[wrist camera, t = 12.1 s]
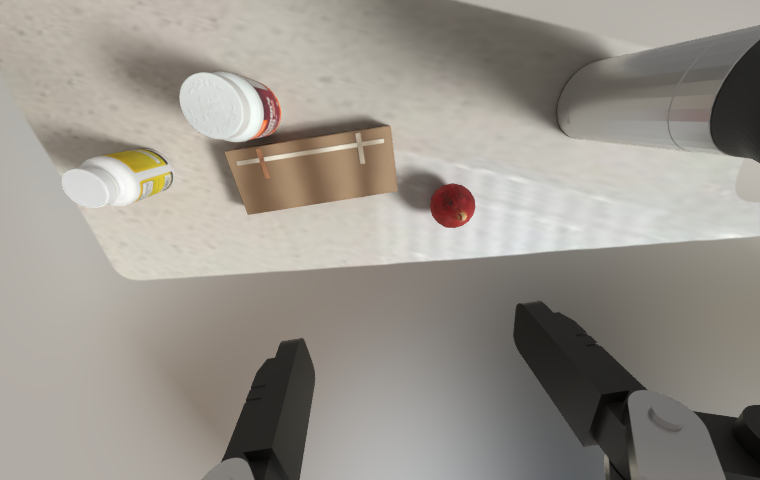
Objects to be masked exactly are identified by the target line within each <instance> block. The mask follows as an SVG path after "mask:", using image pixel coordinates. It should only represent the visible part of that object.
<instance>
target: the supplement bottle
mask: <svg viewBox="0 0 760 480" xmlns="http://www.w3.org/2000/svg"><path fill="white" fill-rule="evenodd" d="M174 180H175V172H174V169H173V166H172V165H171V163H170V162H169V160H168V159H167V158H166V157H165V156H163V155H162V154H160V153H159V152H157V151H154V150H151V149H136V150H130V151H124V152H119V153H113V154H107V155H102V156H96V157H92V158H90V159H87V160H86V161H84V162H83V163H82V165H81V166H80V167H77V168H73V169H69V170H67V171H66V172H65V173H64V174H63V175H62V178H61V184H62V187H63V189H64V191H65V193H66V194H67V195H68V197H69V198H71V199H72V200H73V201H74V202H76V203H77V204H79V205H81V206H84V207H87V208H100V207H103V206H106V205H111V206H125V205H128V204H131V203H134V202H136V201H139V200H141V199H144V198H146V197H149V196H151V195H154V194H156V193H159V192H161V191H164V190H166V189H168V188H169V187H170V186H171V185H172V184H173V183H174Z"/></svg>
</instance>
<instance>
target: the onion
mask: <svg viewBox="0 0 760 480" xmlns="http://www.w3.org/2000/svg"><path fill="white" fill-rule="evenodd" d="M430 208H431V213H432V216H433V217H434V219H435V220H436V221H437V222H438V223H439V224H441V225H443V226H444V227H448V228H456V227H459V226H462V225H464V224H465V223H467V222H468V221H469V220H470V218H471V217H472V216H473V213H474V210H475V200H474V197H473V196H472V194H471V192H470V191H469V190H468V189H467V188H465V187H464V186H462V185H457V184H447V185H443V186H442V187H440V188H439V189H437V190H436V191H435V193H434V195H433V196H432V198H431V205H430Z"/></svg>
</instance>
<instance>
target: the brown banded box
mask: <svg viewBox="0 0 760 480" xmlns="http://www.w3.org/2000/svg"><path fill="white" fill-rule="evenodd" d="M225 155H226V158H227V160H228V163H229V166H230V168H231V171H232V174H233V176H234V179H235V182H236V184H237V187H238V190H239V192H240V195H241V198H242V200H243V203H244V206H245V208H246V211H247V214H248V215H250V214H256V213H263V212H269V211H275V210H282V209H288V208H294V207H301V206H307V205H313V204H320V203H326V202H332V201H338V200H345V199H351V198H357V197H364V196H370V195H376V194H383V193H389V192H395V191H398V188H397V179H396V170H395V161H394V152H393V143H392V134H391V126H389V125H386V126H380V127H373V128H367V129H360V130H354V131H348V132H341V133H335V134H328V135H322V136H315V137H309V138H303V139H296V140H290V141H283V142H277V143H270V144H264V145H258V146H251V147H245V148H238V149H233V150H230V151H226V152H225Z"/></svg>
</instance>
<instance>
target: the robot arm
mask: <svg viewBox="0 0 760 480" xmlns="http://www.w3.org/2000/svg"><path fill="white" fill-rule="evenodd" d="M557 117H558V123H559V125H560V127H561V129H562V130H563V132H564V133H565V134H567V135H568V136H569V137H572V138H575V139H582V140H591V141H599V142H607V143H616V144H625V145H634V146H643V147H652V148H661V149H670V150H679V151H688V152H698V153H707V154H716V155H725V156H734V157H743V158H751V159H753V160H755V161H757V162H759V163H760V25H758V26H753V27H749V28H745V29H740V30H736V31H731V32H727V33H723V34H718V35H713V36H709V37H705V38H700V39H695V40H691V41H686V42H682V43H677V44H673V45H668V46H664V47H659V48H655V49H650V50H646V51H641V52H637V53H632V54H627V55H622V56H618V57H613V58H609V59H604V60H600V61H595V62H593V63H590V64H588V65H586V66H585V67H583V68H581V69H580V70H579V71H578V72H577V73H575V74H574V75H573V76H572V78H571V79H570V80H569V81H568V83H567V84H566V86H565V88H564V89H563V91H562V94H561V96H560V99H559V103H558V107H557ZM513 336H514V341H515V345H516V347H517V349H518V351H519V353H520V354H521V355H522V357H523V358H524V360H525V361H526V363H527V364H528V366H529V367H530V369H531V370H532V371H533V373H534V375H535V376H536V377H537V379H538V380H539V382H540V383H541V385H542V386H543V388H544V389H545V391H546V392H547V394H548V395H549V396H550V398H551V399H552V401H553V402H554V404H555V405H556V407H557V408H558V410H559V411H560V413H561V414H562V416H563V417H564V419H565V420H566V421H567V423H568V424H569V426H570V427H571V428H572V430H573V432H574V433H575V435H576V436H577V438H578V439H579V441H580V442H581V443H582V445H583V447H586V446H592V445H598V444H599V446H600V447H601V448H602V450H603V451H604V453H605V458H604V465H605V479H606V480H760V405H752V406H748V407H746V408H745V409H744V410H743V412H742V413H741V414H740V416H739V417H738V418H736V417H729V416H722V415H715V414H707V413H701V412H695V411H692V410H690V409H689V408H688V407H686V406H685V405H684V404H682V403H680V402H679V401H677V400H675V399H673V398H671V397H669V396H667V395H664V394H661V393H658V392H655V391H649V390H647V389H646V388H645V387H643V386H642V385H641V384H640V383H639V382H638V381H637V380H636V379H635V378H634V377H633V376H632V375H631V374H630V373H629V372H628V371H627V370H625V369H624V367H622V366H621V365H620V364H619V363H618V362H617V361H616V360H615V359H614V358H613V357H612V356H611V355H610V354H609V353H608V352H607V351H606V350H605V349H603V347H601V346H599V345H598V343H597V342H596V341H595V340H594V339H593V338H592V337H591V336H588V334H587V332H586V331H585V330H583V328H581V327H580V326H579V325H578V324H577V323H576V322H575V321H574V320H572V319H570V318H568V317H566V316H565V315H563V314H561V313H559V312H558V313H553V312H552V311H551V310H550V309H549V308H548V307H547V306H546V305H545V304H544V303H543V302H542V301H532V302H526V303H519V304H517V306H516V313H515V322H514V333H513ZM314 385H315V371H314V366H313V363H312V360H311V357H310V354H309V352H308V349H307V346H306V344H305V341H304V339H303V338H299V339H293V340H288V341H282V342H281V343H280V345H279V348H278V351H277V354H276V357H275V358H271V359H267V360H266V362H265V363H264V364H263V365H262V366H261V368H260V369H259V370H258V372H257V373H256V376H255V378H254V381H253V383H252V386H251V390H250V391H249V394H248V396H247V399H246V403H245V404H244V407H243V409H242V412H241V414H240V417H239V419H238V422H237V425H236V427H235V430H234V432H233V435H232V437H231V440H230V442H229V445H228V447H227V450H226V453H225V455H224V457H223V459H222V461H221V463H219V464H218V465H217V466H215V467H214V468H213V469H212V470H210V471H209V472H208V473H207V474H206V475H205V476H204V478H203V479H202V480H299V479H300V473H301V466H302V460H303V453H304V447H305V441H306V435H307V429H308V423H309V416H310V409H311V404H312V397H313V391H314Z"/></svg>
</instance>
